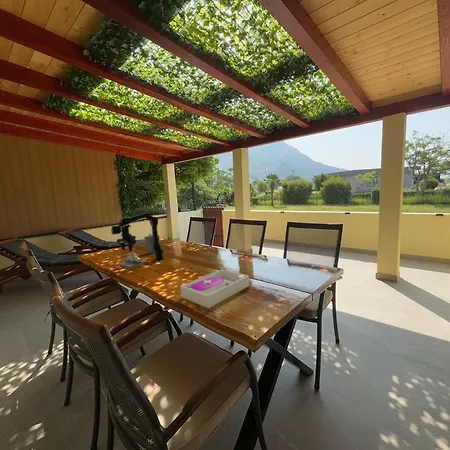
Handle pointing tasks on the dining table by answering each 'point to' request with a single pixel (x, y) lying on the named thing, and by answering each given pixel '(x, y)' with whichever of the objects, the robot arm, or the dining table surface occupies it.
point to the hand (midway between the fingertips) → (127, 251)
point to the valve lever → (127, 255)
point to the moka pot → (150, 242)
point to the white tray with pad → (214, 287)
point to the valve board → (130, 264)
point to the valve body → (133, 259)
